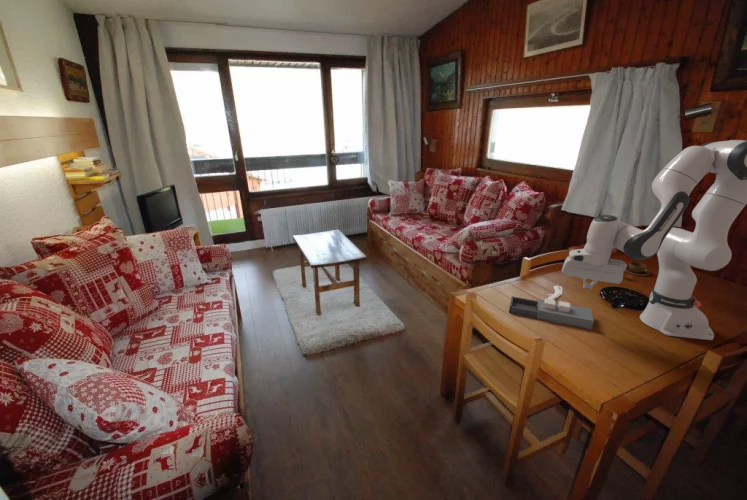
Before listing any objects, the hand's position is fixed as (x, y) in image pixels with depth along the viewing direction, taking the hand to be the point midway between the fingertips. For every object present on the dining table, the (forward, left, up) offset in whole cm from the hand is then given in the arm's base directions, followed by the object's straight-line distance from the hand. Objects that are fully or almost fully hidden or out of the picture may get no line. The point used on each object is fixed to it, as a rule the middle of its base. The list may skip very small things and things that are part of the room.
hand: (587, 288), depth 132 cm
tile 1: (+12, 0, -12) cm, 17 cm away
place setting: (-28, -63, -16) cm, 70 cm away
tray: (+22, 0, -16) cm, 27 cm away
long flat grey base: (+6, 0, -16) cm, 17 cm away
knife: (+10, -23, -16) cm, 29 cm away
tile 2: (+7, 0, -12) cm, 13 cm away
